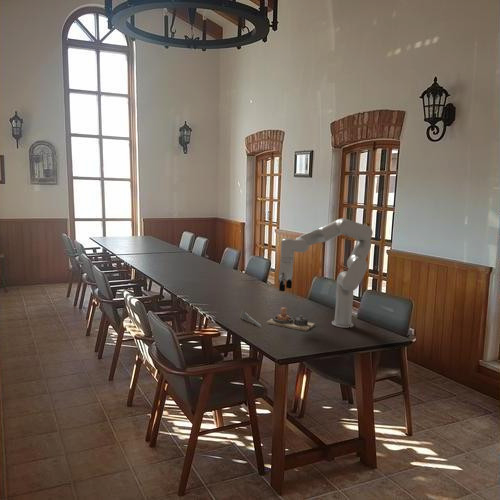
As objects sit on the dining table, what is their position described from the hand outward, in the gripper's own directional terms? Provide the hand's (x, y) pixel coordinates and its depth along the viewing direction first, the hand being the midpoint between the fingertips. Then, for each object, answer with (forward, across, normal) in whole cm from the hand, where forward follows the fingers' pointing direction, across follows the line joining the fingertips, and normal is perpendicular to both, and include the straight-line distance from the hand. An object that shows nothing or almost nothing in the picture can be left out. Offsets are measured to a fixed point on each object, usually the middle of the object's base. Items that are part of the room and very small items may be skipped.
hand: (285, 289), depth 282 cm
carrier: (+20, 0, +5) cm, 20 cm away
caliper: (+20, +12, -15) cm, 28 cm away
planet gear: (+18, 0, 0) cm, 19 cm away
